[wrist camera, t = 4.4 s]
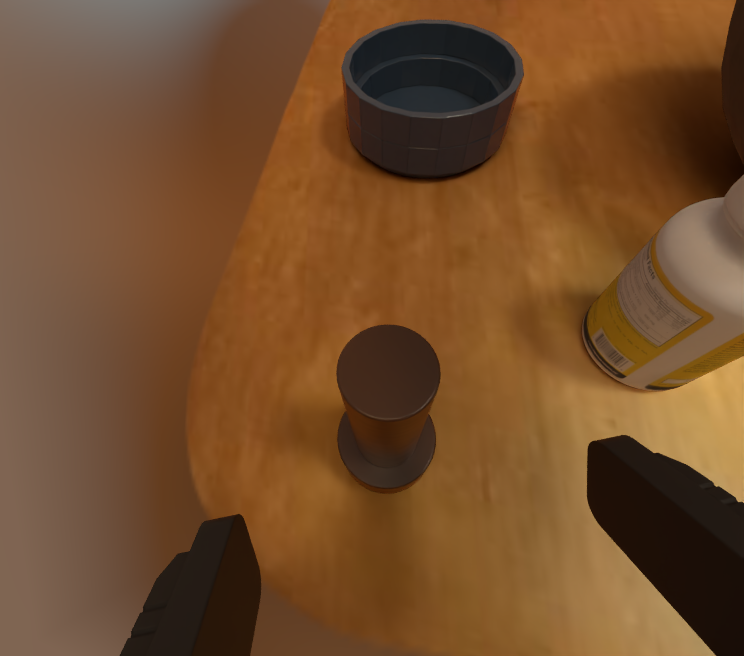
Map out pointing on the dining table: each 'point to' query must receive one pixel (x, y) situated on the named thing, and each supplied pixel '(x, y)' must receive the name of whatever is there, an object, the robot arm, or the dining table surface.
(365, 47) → the bowl
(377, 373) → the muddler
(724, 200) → the pill bottle
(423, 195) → the dining table surface
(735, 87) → the pot
